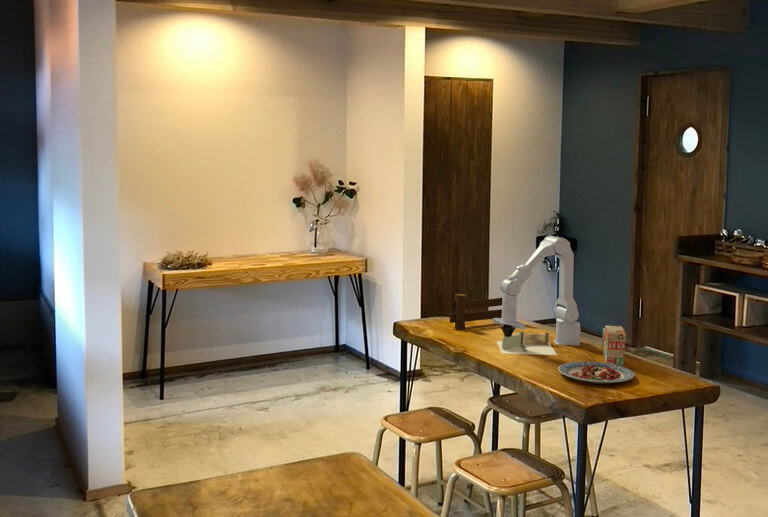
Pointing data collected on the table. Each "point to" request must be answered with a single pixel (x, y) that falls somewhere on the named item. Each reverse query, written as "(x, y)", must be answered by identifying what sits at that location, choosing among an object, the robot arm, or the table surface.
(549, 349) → the card
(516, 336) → the pale green bar
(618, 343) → the stack of blocks
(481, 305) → the decorative fence
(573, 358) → the table surface
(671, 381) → the table surface
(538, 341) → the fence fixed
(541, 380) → the table surface
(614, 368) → the ceramic plate
